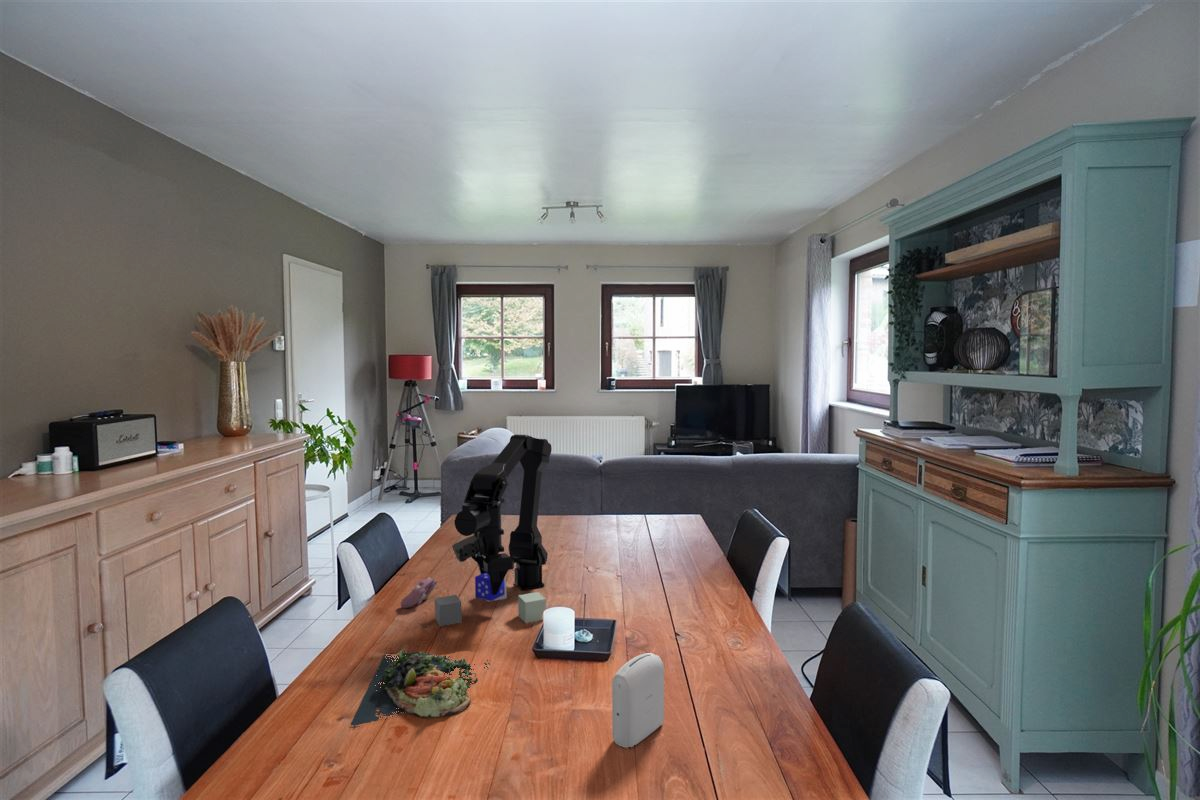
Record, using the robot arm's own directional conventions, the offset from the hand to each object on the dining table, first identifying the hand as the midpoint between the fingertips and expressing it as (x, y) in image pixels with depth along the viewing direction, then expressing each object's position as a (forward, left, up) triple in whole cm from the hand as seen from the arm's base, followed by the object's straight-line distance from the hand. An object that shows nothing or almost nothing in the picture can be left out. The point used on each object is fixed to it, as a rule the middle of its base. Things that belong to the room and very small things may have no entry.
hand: (490, 589), depth 154 cm
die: (0, 0, -2) cm, 2 cm away
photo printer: (-7, +59, -6) cm, 60 cm away
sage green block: (-8, +7, -6) cm, 12 cm away
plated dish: (+20, +29, -7) cm, 36 cm away
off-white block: (-4, -10, -6) cm, 12 cm away
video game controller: (+14, -15, -6) cm, 21 cm away
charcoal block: (+10, 0, -6) cm, 12 cm away
